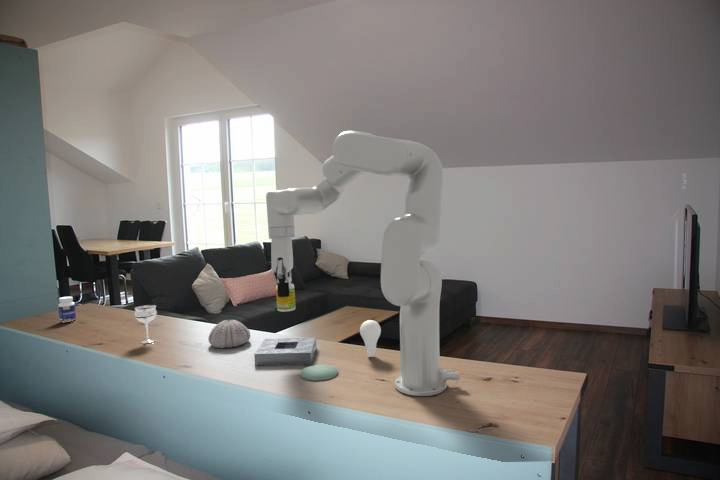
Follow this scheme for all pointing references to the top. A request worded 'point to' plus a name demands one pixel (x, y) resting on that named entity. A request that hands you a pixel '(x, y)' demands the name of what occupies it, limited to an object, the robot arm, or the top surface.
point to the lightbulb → (370, 335)
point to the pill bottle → (66, 309)
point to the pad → (319, 372)
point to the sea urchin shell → (229, 334)
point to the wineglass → (146, 316)
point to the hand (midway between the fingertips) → (285, 293)
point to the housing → (285, 352)
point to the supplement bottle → (286, 298)
